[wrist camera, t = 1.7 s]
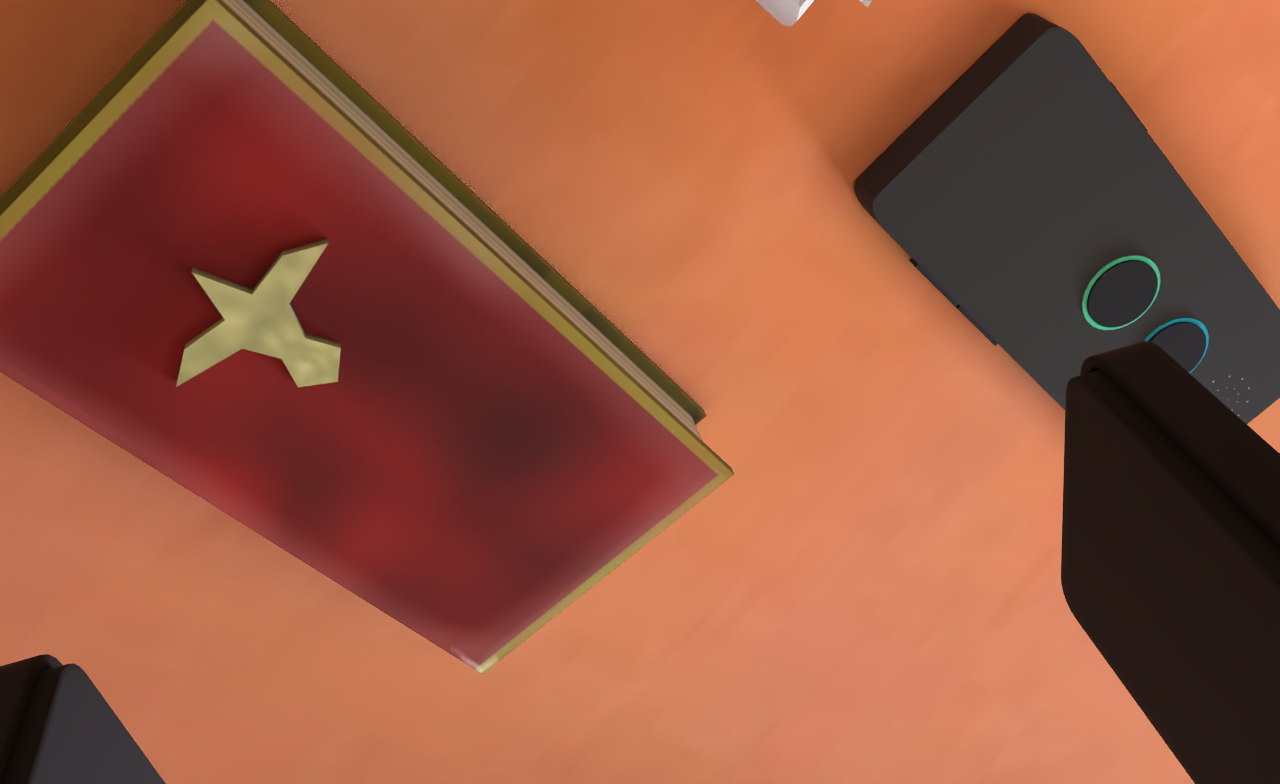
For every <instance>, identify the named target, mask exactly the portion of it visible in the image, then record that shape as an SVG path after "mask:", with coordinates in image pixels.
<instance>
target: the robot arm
mask: <svg viewBox="0 0 1280 784" xmlns="http://www.w3.org/2000/svg"><path fill="white" fill-rule="evenodd" d="M1061 582H1062V588H1063V592H1064V595H1065V598H1066V601H1067V603H1068V606H1069V608H1070V610H1071V612H1072V613H1073V615H1074V616H1075V618H1076V619H1077V621H1078V622H1079V624H1080V625H1081V626H1082V628H1083V629H1084V630H1085V632H1086V633H1087V635H1088V636H1089V637H1090V639H1091V640H1092V642H1093V643H1094V644H1095V646H1096V647H1097V648H1098V650H1099V651H1100V653H1101V654H1102V655H1103V657H1104V658H1105V660H1106V661H1107V662H1108V664H1109V665H1110V666H1111V668H1112V669H1113V671H1114V672H1115V673H1116V675H1117V676H1118V678H1119V679H1120V680H1121V682H1122V683H1123V684H1124V686H1125V687H1126V689H1127V690H1128V691H1129V693H1130V694H1131V696H1132V697H1133V698H1134V700H1135V701H1136V702H1137V704H1138V705H1139V707H1140V708H1141V709H1142V711H1143V712H1144V714H1145V715H1146V716H1147V718H1148V719H1149V720H1150V722H1151V723H1152V725H1153V726H1154V727H1155V729H1156V730H1157V732H1158V733H1159V734H1160V736H1161V737H1162V738H1163V740H1164V741H1165V743H1166V744H1167V745H1168V747H1169V748H1170V750H1171V751H1172V752H1173V754H1174V755H1175V756H1176V758H1177V759H1178V761H1179V762H1180V763H1181V765H1182V766H1183V768H1184V769H1185V770H1186V772H1187V773H1188V774H1189V776H1190V777H1191V779H1192V780H1193V781H1194V783H1195V784H1280V453H1278V452H1277V451H1276V450H1275V449H1274V448H1272V447H1271V446H1270V445H1269V444H1268V443H1267V442H1266V441H1265V440H1263V439H1262V438H1261V437H1260V436H1259V435H1258V434H1257V433H1256V432H1255V431H1253V430H1252V429H1251V428H1250V427H1249V426H1248V425H1247V424H1246V423H1244V422H1243V421H1242V420H1241V419H1240V418H1239V417H1238V416H1237V415H1235V414H1234V413H1233V412H1232V411H1231V410H1230V409H1229V408H1228V407H1227V406H1225V405H1224V404H1223V403H1222V402H1221V401H1220V400H1219V399H1218V398H1216V397H1215V396H1214V395H1213V394H1212V393H1211V392H1210V391H1209V390H1207V389H1206V388H1205V387H1204V386H1203V385H1202V384H1201V383H1200V382H1199V381H1197V380H1196V379H1195V378H1194V377H1193V376H1192V375H1191V374H1190V373H1188V372H1187V371H1186V370H1185V369H1184V368H1183V367H1182V366H1181V365H1179V364H1178V363H1177V362H1176V361H1175V360H1174V359H1173V358H1172V357H1170V356H1169V355H1168V354H1167V353H1166V352H1165V351H1164V350H1163V349H1162V348H1160V347H1159V346H1157V345H1156V344H1154V343H1153V342H1148V341H1143V342H1139V343H1136V344H1132V345H1129V346H1125V347H1121V348H1118V349H1114V350H1111V351H1107V352H1104V353H1100V354H1097V355H1093V356H1090V357H1088V358H1087V359H1085V361H1084V362H1083V364H1082V366H1081V373H1080V376H1076V377H1073V378H1071V379H1070V380H1069V382H1068V384H1067V388H1066V412H1065V450H1064V487H1063V525H1062V562H1061ZM0 784H165V782H164V781H163V779H162V778H161V777H160V775H159V774H158V773H157V771H156V770H155V768H154V767H153V766H152V764H151V763H150V762H149V760H148V759H147V757H146V756H145V755H144V753H143V752H142V750H141V749H140V748H139V746H138V745H137V744H136V742H135V741H134V739H133V738H132V737H131V735H130V734H129V732H128V731H127V730H126V728H125V727H124V726H123V724H122V723H121V721H120V720H119V719H118V717H117V716H116V714H115V713H114V712H113V710H112V709H111V708H110V706H109V705H108V703H107V702H106V701H105V699H104V698H103V697H102V695H101V694H100V692H99V691H98V690H97V688H96V687H95V685H94V684H93V683H92V681H91V680H90V679H89V677H88V676H87V674H86V673H85V672H84V671H83V670H82V669H81V668H80V666H78V665H76V664H67V665H62V664H61V663H60V662H59V661H58V660H57V659H56V658H55V657H53V656H50V655H48V654H47V655H39V656H36V657H32V658H29V659H25V660H22V661H18V662H15V663H11V664H8V665H4V666H0Z"/></svg>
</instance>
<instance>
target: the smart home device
mask: <svg viewBox="0 0 1280 784" xmlns="http://www.w3.org/2000/svg"><path fill="white" fill-rule="evenodd" d="M855 192H856V195H857V197H858V199H859V201H860V203H861V204H862V206H863V207H864V208H865V210H866V211H867V212H868V213H869V214H870V215H871V216H872V217H873V218H874V219H875V220H876V221H877V223H878V224H879V225H880V226H881V227H882V228H883V229H884V230H885V231H886V232H887V233H888V234H889V235H890V236H891V237H892V238H893V239H894V240H895V241H896V242H897V243H898V244H899V245H900V246H901V247H902V248H903V249H904V250H905V251H906V252H907V253H908V254H909V255H910V256H911V257H912V258H911V259H910V260H909V261H910V262H911V263H912V264H913V265H914V266H915V267H916V268H917V269H918V270H919V271H920V272H921V273H922V274H923V275H924V276H925V277H926V278H927V279H928V280H929V281H930V282H931V283H932V284H933V285H934V286H935V287H936V288H937V289H938V290H939V291H940V292H941V293H942V294H943V295H944V296H945V297H946V298H947V299H948V300H949V301H950V302H951V303H952V304H953V305H954V306H955V307H956V308H957V309H958V310H959V311H960V312H961V313H962V314H963V315H964V316H965V317H966V318H967V319H968V320H969V321H971V322H972V323H973V324H974V325H975V326H976V327H977V328H978V329H979V330H980V331H981V332H982V333H983V334H984V335H985V336H986V337H987V338H988V339H989V340H990V341H991V342H992V343H993V344H994V345H995V346H996V345H997V344H999V345H1000V346H1001V347H1002V348H1003V349H1004V350H1005V351H1006V352H1007V353H1008V354H1009V355H1010V356H1011V357H1012V358H1013V359H1014V360H1015V361H1016V362H1017V363H1018V364H1019V365H1020V366H1021V367H1022V368H1023V369H1024V370H1025V371H1026V372H1027V373H1028V374H1029V375H1030V376H1031V377H1032V378H1033V379H1034V380H1035V381H1036V382H1037V383H1038V384H1039V385H1040V386H1041V387H1042V388H1043V389H1044V390H1045V391H1046V392H1047V393H1048V394H1049V395H1050V396H1051V397H1052V398H1054V399H1055V400H1056V401H1057V402H1058V403H1059V404H1060V405H1061V406H1062V407H1063V408H1064V409H1065V410H1066V388H1067V384H1068V382H1069V380H1070V379H1071V378H1073V377H1076V376H1080V373H1081V366H1082V364H1083V362H1084V361H1085V359H1087V358H1088V357H1090V356H1093V355H1097V354H1100V353H1104V352H1107V351H1111V350H1114V349H1118V348H1121V347H1125V346H1129V345H1132V344H1136V343H1139V342H1143V341H1148V342H1153V343H1154V344H1156V345H1157V346H1159V347H1160V348H1162V349H1163V350H1164V351H1165V352H1166V353H1167V354H1168V355H1169V356H1170V357H1172V358H1173V359H1174V360H1175V361H1176V362H1177V363H1178V364H1179V365H1181V366H1182V367H1183V368H1184V369H1185V370H1186V371H1187V372H1188V373H1190V374H1191V375H1192V376H1193V377H1194V378H1195V379H1196V380H1197V381H1199V382H1200V383H1201V384H1202V385H1203V386H1204V387H1205V388H1206V389H1207V390H1209V391H1210V392H1211V393H1212V394H1213V395H1214V396H1215V397H1216V398H1218V399H1219V400H1220V401H1221V402H1222V403H1223V404H1224V405H1225V406H1227V407H1228V408H1229V409H1230V410H1231V411H1232V412H1233V413H1234V414H1235V415H1237V416H1238V417H1239V418H1240V419H1241V420H1242V421H1243V422H1244V423H1246V424H1248V423H1249V422H1250V421H1251V420H1253V419H1254V418H1255V417H1256V416H1258V415H1259V414H1260V413H1261V412H1263V411H1264V410H1265V409H1266V408H1268V407H1269V406H1270V405H1271V404H1272V403H1274V402H1275V401H1276V400H1277V399H1279V398H1280V310H1279V308H1278V307H1277V306H1276V304H1275V303H1274V302H1273V300H1272V299H1271V298H1270V296H1269V295H1268V293H1267V292H1266V291H1265V289H1264V288H1263V287H1262V285H1261V284H1260V283H1259V281H1258V280H1257V279H1256V277H1255V276H1254V275H1253V273H1252V272H1251V271H1250V269H1249V268H1248V267H1247V265H1246V264H1245V263H1244V261H1243V260H1242V259H1241V257H1240V256H1239V255H1238V253H1237V252H1236V251H1235V249H1234V248H1233V247H1232V245H1231V244H1230V242H1229V241H1228V240H1227V238H1226V237H1225V236H1224V234H1223V233H1222V232H1221V230H1220V229H1219V228H1218V226H1217V225H1216V224H1215V222H1214V221H1213V220H1212V218H1211V217H1210V216H1209V214H1208V213H1207V212H1206V210H1205V209H1204V208H1203V206H1202V205H1201V204H1200V202H1199V201H1198V200H1197V198H1196V197H1195V196H1194V194H1193V193H1192V192H1191V190H1190V189H1189V187H1188V186H1187V185H1186V183H1185V182H1184V181H1183V179H1182V178H1181V177H1180V175H1179V174H1178V173H1177V171H1176V170H1175V169H1174V167H1173V166H1172V165H1171V163H1170V162H1169V161H1168V159H1167V158H1166V157H1165V155H1164V154H1163V153H1162V151H1161V150H1160V149H1159V147H1158V146H1157V145H1156V143H1155V142H1154V141H1153V139H1152V138H1151V136H1150V135H1149V134H1148V132H1147V129H1146V128H1145V127H1144V125H1143V124H1142V123H1141V121H1140V120H1139V119H1138V117H1137V116H1136V115H1135V113H1134V112H1133V110H1132V109H1131V108H1130V106H1129V105H1128V104H1127V102H1126V101H1125V100H1124V98H1123V97H1122V96H1121V94H1120V93H1119V92H1118V90H1117V89H1116V88H1115V86H1114V85H1113V84H1112V83H1111V82H1110V81H1109V80H1108V79H1107V77H1106V76H1105V75H1104V73H1103V72H1102V71H1101V69H1100V68H1099V67H1098V65H1097V64H1096V63H1095V61H1094V60H1093V59H1092V57H1091V56H1090V55H1089V53H1088V52H1087V51H1086V49H1085V48H1084V47H1083V45H1082V44H1081V43H1080V42H1079V40H1078V39H1077V38H1076V37H1075V36H1074V35H1072V34H1071V33H1070V32H1068V31H1067V30H1065V29H1063V28H1061V27H1059V26H1057V25H1055V24H1053V23H1051V22H1049V21H1047V20H1046V19H1044V18H1042V17H1040V16H1037V15H1035V14H1026V15H1024V16H1023V17H1022V18H1021V19H1020V20H1019V21H1018V22H1017V23H1016V24H1015V25H1014V26H1013V27H1012V28H1011V29H1010V30H1009V31H1008V32H1007V33H1006V34H1005V35H1004V36H1002V37H1001V38H1000V39H999V40H998V41H997V42H996V43H995V44H994V45H993V46H992V47H991V48H990V49H989V50H988V51H987V52H986V53H985V54H984V55H983V56H982V57H981V58H980V59H979V60H978V61H977V62H976V63H975V64H974V65H973V66H972V67H971V68H970V69H969V70H968V71H967V72H966V73H965V74H964V75H963V76H962V77H961V78H960V79H959V80H958V81H957V82H956V83H955V84H954V85H953V86H952V87H951V88H950V89H949V90H948V91H947V92H946V93H945V94H944V95H942V96H941V97H940V98H939V99H938V100H937V101H936V102H935V103H934V104H933V105H932V106H931V107H930V108H929V109H928V110H927V111H926V112H925V113H924V114H923V115H922V116H921V117H920V118H919V119H918V120H917V121H916V122H915V123H914V124H913V125H912V126H911V127H910V128H909V129H908V130H907V131H906V132H905V133H904V134H903V135H902V136H901V137H900V138H899V139H898V140H897V141H896V142H895V143H894V144H893V145H892V146H891V147H890V148H889V149H888V150H887V151H886V152H885V153H884V154H882V155H881V156H880V157H879V158H878V159H877V160H876V161H875V162H874V163H873V164H872V165H871V166H870V167H869V168H868V169H867V170H866V171H865V172H864V173H863V174H862V175H861V176H860V177H859V178H858V179H857V180H856V182H855Z"/></svg>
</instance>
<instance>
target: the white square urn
mask: <svg viewBox="0 0 1280 784" xmlns="http://www.w3.org/2000/svg"><path fill="white" fill-rule="evenodd" d="M755 1H756V2H757V3H759V4H760V5H761V6H762V7H763V8H764V9H765V10H766V11H768V12H769V13H770V14H771V15H772V16H773V17H774V18H775V19H777V20H778V21H779V22H780V23H781V24H782V25H786V26H788V27H790V26H792V25H793V24H794V23H796V22H797V20H798V19H799V18H800V17H801V15H802V14H803V13H804V12H805V11H806V9H807V8H808V7H809V6H810V5H811V3H812V2H813V1H814V0H755ZM859 1H861V2H862V3H863V4H864V5H865V6H866V7H868V6H869V4H870V3H871V2H872V0H859Z"/></svg>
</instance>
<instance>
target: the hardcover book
mask: <svg viewBox="0 0 1280 784" xmlns="http://www.w3.org/2000/svg"><path fill="white" fill-rule="evenodd" d="M0 372H1V373H3V374H5V375H6V376H8V377H9V378H11V379H12V380H14V381H16V382H17V383H19V384H20V385H22V386H24V387H25V388H27V389H28V390H30V391H32V392H33V393H35V394H36V395H38V396H40V397H41V398H43V399H44V400H46V401H48V402H49V403H51V404H52V405H54V406H56V407H57V408H59V409H60V410H62V411H64V412H65V413H67V414H68V415H70V416H72V417H73V418H75V419H76V420H78V421H80V422H81V423H83V424H84V425H86V426H88V427H89V428H91V429H92V430H94V431H95V432H97V433H99V434H100V435H102V436H103V437H105V438H107V439H108V440H110V441H111V442H113V443H115V444H116V445H118V446H119V447H121V448H123V449H124V450H126V451H127V452H129V453H131V454H132V455H134V456H135V457H137V458H139V459H140V460H142V461H143V462H145V463H147V464H148V465H150V466H151V467H153V468H155V469H156V470H158V471H159V472H161V473H163V474H164V475H166V476H167V477H169V478H171V479H172V480H174V481H175V482H177V483H179V484H180V485H182V486H183V487H185V488H186V489H188V490H190V491H191V492H193V493H194V494H196V495H198V496H199V497H201V498H202V499H204V500H206V501H207V502H209V503H210V504H212V505H214V506H215V507H217V508H218V509H220V510H222V511H223V512H225V513H226V514H228V515H230V516H231V517H233V518H234V519H236V520H238V521H239V522H241V523H242V524H244V525H246V526H247V527H249V528H250V529H252V530H254V531H255V532H257V533H258V534H260V535H262V536H263V537H265V538H266V539H268V540H269V541H271V542H273V543H274V544H276V545H277V546H279V547H281V548H282V549H284V550H285V551H287V552H289V553H290V554H292V555H293V556H295V557H297V558H298V559H300V560H301V561H303V562H305V563H306V564H308V565H309V566H311V567H313V568H314V569H316V570H317V571H319V572H321V573H322V574H324V575H325V576H327V577H329V578H330V579H332V580H333V581H335V582H337V583H338V584H340V585H341V586H343V587H345V588H346V589H348V590H349V591H351V592H352V593H354V594H356V595H357V596H359V597H360V598H362V599H364V600H365V601H367V602H368V603H370V604H372V605H373V606H375V607H376V608H378V609H380V610H381V611H383V612H384V613H386V614H388V615H389V616H391V617H392V618H394V619H396V620H397V621H399V622H400V623H402V624H404V625H405V626H407V627H408V628H410V629H412V630H413V631H415V632H416V633H418V634H420V635H421V636H423V637H424V638H426V639H428V640H429V641H431V642H432V643H434V644H436V645H437V646H439V647H440V648H442V649H443V650H445V651H447V652H448V653H450V654H451V655H453V656H455V657H456V658H458V659H459V660H461V661H463V662H464V663H466V664H467V665H469V666H471V667H472V668H474V669H475V670H477V671H479V672H480V673H482V674H484V673H485V672H486V671H487V670H489V669H490V668H491V667H492V666H494V665H495V664H496V663H498V662H499V661H500V660H501V659H503V658H504V657H505V656H506V655H508V654H509V653H510V652H511V651H513V650H514V649H515V648H516V647H518V646H519V645H520V644H521V643H523V642H524V641H525V640H526V639H528V638H529V637H530V636H531V635H533V634H534V633H535V632H537V631H538V630H539V629H540V628H542V627H543V626H544V625H545V624H547V623H548V622H549V621H550V620H552V619H553V618H554V617H555V616H557V615H558V614H559V613H560V612H562V611H563V610H564V609H565V608H567V607H568V606H569V605H570V604H572V603H573V602H574V601H576V600H577V599H578V598H579V597H581V596H582V595H583V594H584V593H586V592H587V591H588V590H589V589H591V588H592V587H593V586H594V585H596V584H597V583H598V582H599V581H601V580H602V579H603V578H604V577H606V576H607V575H608V574H609V573H611V572H612V571H613V570H614V569H616V568H617V567H618V566H620V565H621V564H622V563H623V562H625V561H626V560H627V559H628V558H630V557H631V556H632V555H633V554H635V553H636V552H637V551H638V550H640V549H641V548H642V547H643V546H645V545H646V544H647V543H648V542H650V541H651V540H652V539H653V538H655V537H656V536H657V535H659V534H660V533H661V532H662V531H664V530H665V529H666V528H667V527H669V526H670V525H671V524H672V523H674V522H675V521H676V520H677V519H679V518H680V517H681V516H682V515H684V514H685V513H686V512H687V511H689V510H690V509H691V508H692V507H694V506H695V505H696V504H698V503H699V502H700V501H701V500H703V499H704V498H705V497H706V496H708V495H709V494H710V493H711V492H713V491H714V490H715V489H716V488H718V487H719V486H720V485H721V484H723V483H724V482H725V481H726V480H728V479H729V478H730V477H731V476H733V475H734V473H733V471H732V469H731V467H730V466H729V465H728V464H727V463H726V462H724V461H723V460H722V459H721V458H720V457H719V456H718V455H717V454H716V453H715V452H714V451H712V450H711V449H710V448H709V447H708V446H707V445H706V444H705V443H704V442H703V441H702V438H701V436H700V434H699V432H698V430H697V427H696V424H697V423H698V422H699V421H701V420H702V419H703V418H704V417H706V414H705V412H704V410H703V409H702V408H701V407H700V406H699V405H698V404H697V403H696V402H695V401H694V400H693V399H692V398H691V397H689V396H688V395H687V394H686V393H685V392H684V391H683V390H682V389H681V388H680V387H679V386H678V385H677V384H676V383H675V382H674V381H673V380H671V379H670V378H669V377H668V376H667V375H666V374H665V373H664V372H663V371H662V370H661V369H660V368H659V367H658V366H657V365H656V364H654V363H653V362H652V361H651V360H650V359H649V358H648V357H647V356H646V355H645V354H644V353H643V352H642V351H641V350H640V349H639V348H638V347H636V346H635V345H634V344H633V343H632V342H631V341H630V340H629V339H628V338H627V337H626V336H625V335H624V334H623V333H622V332H621V331H619V330H618V329H617V328H616V327H615V326H614V325H613V324H612V323H611V322H610V321H609V320H608V319H607V318H606V317H605V316H604V315H603V314H601V313H600V312H599V311H598V310H597V309H596V308H595V307H594V306H593V305H592V304H591V303H590V302H589V301H588V300H587V299H586V298H584V297H583V296H582V295H581V294H580V293H579V292H578V291H577V290H576V289H575V288H574V287H573V286H572V285H571V284H570V283H569V282H568V281H566V280H565V279H564V278H563V277H562V276H561V275H560V274H559V273H558V272H557V271H556V270H555V269H554V268H553V267H552V266H551V265H550V264H548V263H547V262H546V261H545V260H544V259H543V258H542V257H541V256H540V255H539V254H538V253H537V252H536V251H535V250H534V249H533V248H531V247H530V246H529V245H528V244H527V243H526V242H525V241H524V240H523V239H522V238H521V237H520V236H519V235H518V234H517V233H516V232H515V231H513V230H512V229H511V228H510V227H509V226H508V225H507V224H506V223H505V222H504V221H503V220H502V219H501V218H500V217H499V216H498V215H496V214H495V213H494V212H493V211H492V210H491V209H490V208H489V207H488V206H487V205H486V204H485V203H484V202H483V201H482V200H481V199H480V198H478V197H477V196H476V195H475V194H474V193H473V192H472V191H471V190H470V189H469V188H468V187H467V186H466V185H465V184H464V183H463V182H461V181H460V180H459V179H458V178H457V177H456V176H455V175H454V174H453V173H452V172H451V171H450V170H449V169H448V168H447V167H446V166H445V165H443V164H442V163H441V162H440V161H439V160H438V159H437V158H436V157H435V156H434V155H433V154H432V153H431V152H430V151H429V150H428V149H427V148H425V147H424V146H423V145H422V144H421V143H420V142H419V141H418V140H417V139H416V138H415V137H414V136H413V135H412V134H411V133H410V132H408V131H407V130H406V129H405V128H404V127H403V126H402V125H401V124H400V123H399V122H398V121H397V120H396V119H395V118H394V117H393V116H392V115H390V114H389V113H388V112H387V111H386V110H385V109H384V108H383V107H382V106H381V105H380V104H379V103H378V102H377V101H376V100H375V99H373V98H372V97H371V96H370V95H369V94H368V93H367V92H366V91H365V90H364V89H363V88H362V87H361V86H360V85H359V84H358V83H357V82H355V81H354V80H353V79H352V78H351V77H350V76H349V75H348V74H347V73H346V72H345V71H344V70H343V69H342V68H341V67H340V66H338V65H337V64H336V63H335V62H334V61H333V60H332V59H331V58H330V57H329V56H328V55H327V54H326V53H325V52H324V51H323V50H322V49H320V48H319V47H318V46H317V45H316V44H315V43H314V42H313V41H312V40H311V39H310V38H309V37H308V36H307V35H306V34H305V33H304V32H302V31H301V30H300V29H299V28H298V27H297V26H296V25H295V24H294V23H293V22H292V21H291V20H290V19H289V18H288V17H287V16H285V15H284V14H283V13H282V12H281V11H280V10H279V9H278V8H277V7H276V6H275V5H274V4H273V3H272V2H271V1H270V0H187V1H186V2H185V3H184V4H183V5H182V6H181V7H180V8H179V9H178V10H177V11H176V12H175V13H174V14H173V15H172V16H171V17H170V18H169V19H168V21H167V22H166V23H165V24H164V25H163V26H162V27H161V28H160V29H159V30H158V31H157V32H156V33H155V34H154V35H153V36H152V37H151V38H150V39H149V40H148V42H147V43H146V44H145V45H144V46H143V47H142V48H141V49H140V50H139V51H138V52H137V53H136V54H135V55H134V56H133V57H132V58H131V59H130V60H129V61H128V63H127V64H126V65H125V66H124V67H123V68H122V69H121V70H120V71H119V72H118V73H117V74H116V75H115V76H114V77H113V78H112V79H111V80H110V81H109V82H108V84H107V85H106V86H105V87H104V88H103V89H102V90H101V91H100V92H99V93H98V94H97V95H96V96H95V97H94V98H93V99H92V100H91V101H90V102H89V103H88V105H87V106H86V107H85V108H84V109H83V110H82V111H81V112H80V113H79V114H78V115H77V116H76V117H75V118H74V119H73V120H72V121H71V122H70V123H69V124H68V126H67V127H66V128H65V129H64V130H63V131H62V132H61V133H60V134H59V135H58V136H57V137H56V138H55V139H54V140H53V141H52V142H51V143H50V144H49V145H48V147H47V148H46V149H45V150H44V151H43V152H42V153H41V154H40V155H39V156H38V157H37V158H36V159H35V160H34V161H33V162H32V163H31V164H30V165H29V166H28V168H27V169H26V170H25V171H24V172H23V173H22V174H21V175H20V176H19V177H18V178H17V179H16V180H15V181H14V182H13V183H12V184H11V185H10V186H9V187H8V189H7V190H6V191H5V192H4V193H3V194H2V195H1V196H0Z"/></svg>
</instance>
